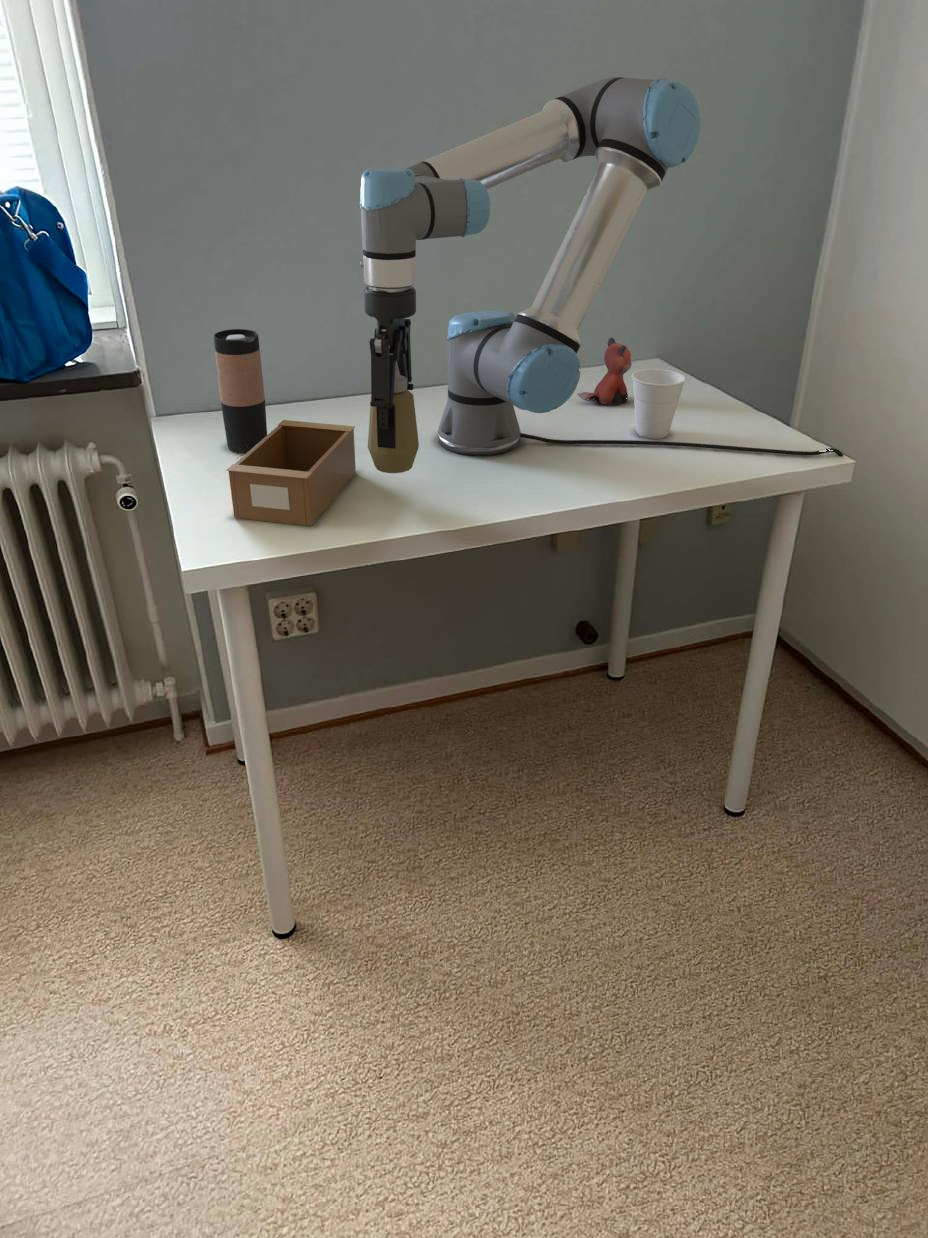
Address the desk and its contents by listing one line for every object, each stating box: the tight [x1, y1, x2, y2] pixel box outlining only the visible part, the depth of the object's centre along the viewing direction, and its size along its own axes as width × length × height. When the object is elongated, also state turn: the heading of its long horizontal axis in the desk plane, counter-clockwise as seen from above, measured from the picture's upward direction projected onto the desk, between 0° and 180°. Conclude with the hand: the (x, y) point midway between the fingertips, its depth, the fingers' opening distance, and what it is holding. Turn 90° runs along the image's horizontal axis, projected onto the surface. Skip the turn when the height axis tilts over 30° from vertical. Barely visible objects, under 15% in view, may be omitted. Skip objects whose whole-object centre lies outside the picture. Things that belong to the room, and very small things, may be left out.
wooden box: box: [225, 419, 357, 527], centre depth 153 cm, size 13×23×8 cm, turn 167°
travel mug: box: [213, 328, 268, 454], centre depth 168 cm, size 8×8×20 cm
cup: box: [631, 368, 687, 440], centre depth 179 cm, size 10×10×11 cm
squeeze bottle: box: [367, 354, 420, 474], centre depth 148 cm, size 8×8×18 cm
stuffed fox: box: [577, 337, 633, 406], centre depth 195 cm, size 8×11×12 cm
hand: (393, 438), depth 150 cm, fingers closed on squeeze bottle, 6 cm apart
